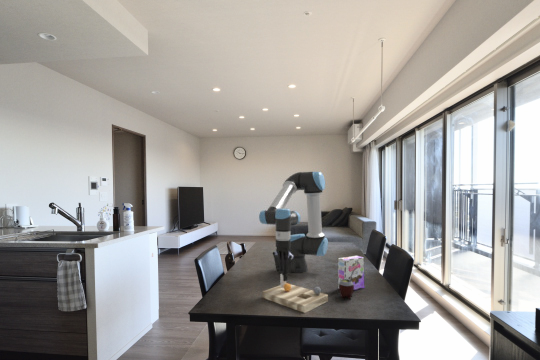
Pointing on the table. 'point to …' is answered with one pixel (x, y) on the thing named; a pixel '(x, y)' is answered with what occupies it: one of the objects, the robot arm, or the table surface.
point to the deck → (295, 298)
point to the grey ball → (317, 290)
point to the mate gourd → (346, 287)
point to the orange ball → (287, 287)
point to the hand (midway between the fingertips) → (283, 287)
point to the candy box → (348, 266)
